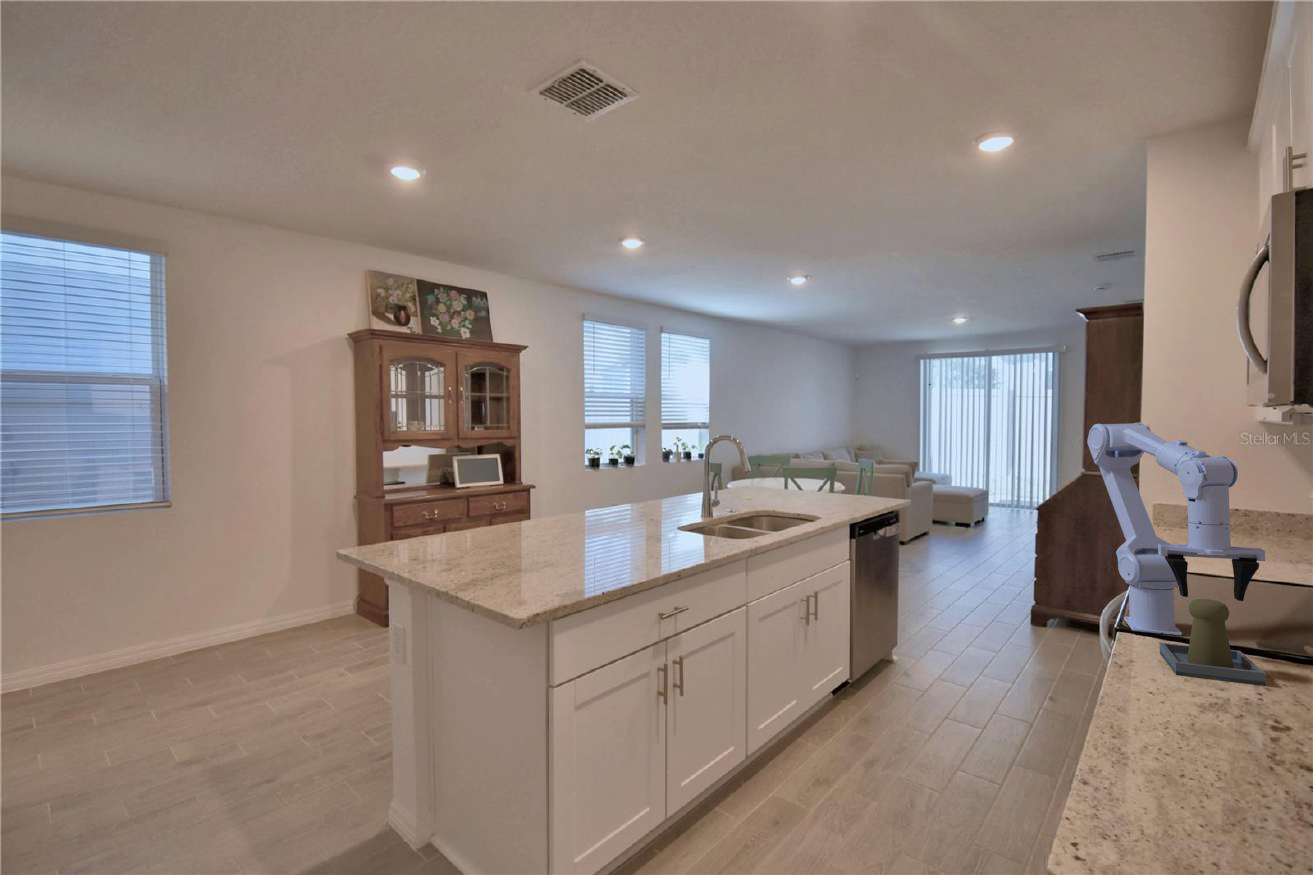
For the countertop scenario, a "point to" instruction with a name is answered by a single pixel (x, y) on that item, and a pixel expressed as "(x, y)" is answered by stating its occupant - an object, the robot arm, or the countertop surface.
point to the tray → (1240, 673)
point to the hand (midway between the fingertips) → (1211, 597)
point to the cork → (1209, 634)
